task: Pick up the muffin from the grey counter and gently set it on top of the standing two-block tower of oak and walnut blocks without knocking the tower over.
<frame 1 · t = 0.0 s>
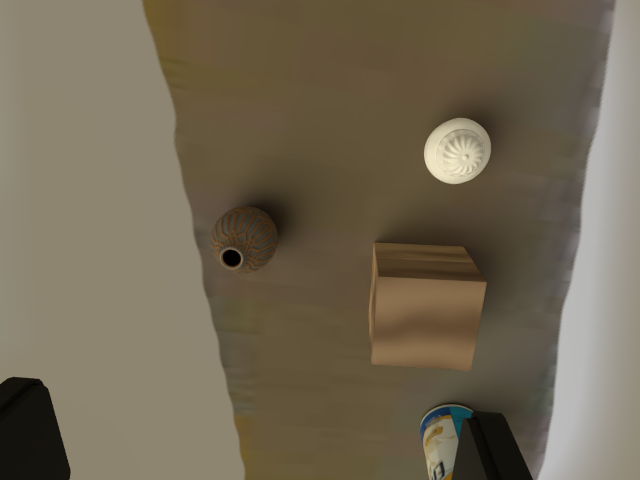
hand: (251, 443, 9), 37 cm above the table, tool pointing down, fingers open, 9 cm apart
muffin: (448, 146, 42), on the table
tower top: (419, 302, 44), point 4 cm above the table, touching tower base
vase: (253, 227, 47), on the table
tower base: (413, 282, 48), on the table, touching tower top
beverage bottle: (449, 424, 55), on the table
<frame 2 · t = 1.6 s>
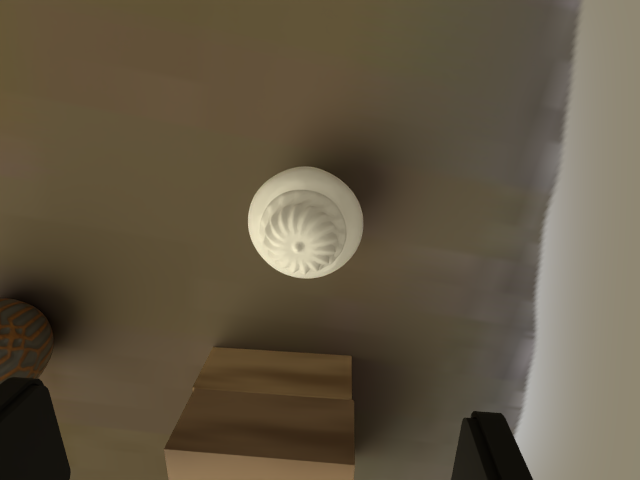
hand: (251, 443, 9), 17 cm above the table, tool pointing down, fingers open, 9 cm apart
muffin: (311, 204, 25), on the table
tower top: (274, 453, 27), point 4 cm above the table, touching tower base
vase: (27, 323, 30), on the table
tower base: (283, 402, 31), on the table, touching tower top
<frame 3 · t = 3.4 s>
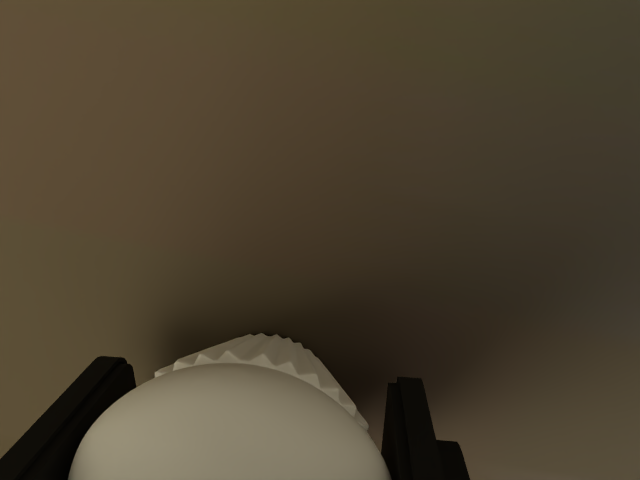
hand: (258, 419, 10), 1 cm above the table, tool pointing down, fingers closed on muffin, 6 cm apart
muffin: (271, 378, 11), on the table, touching gripper
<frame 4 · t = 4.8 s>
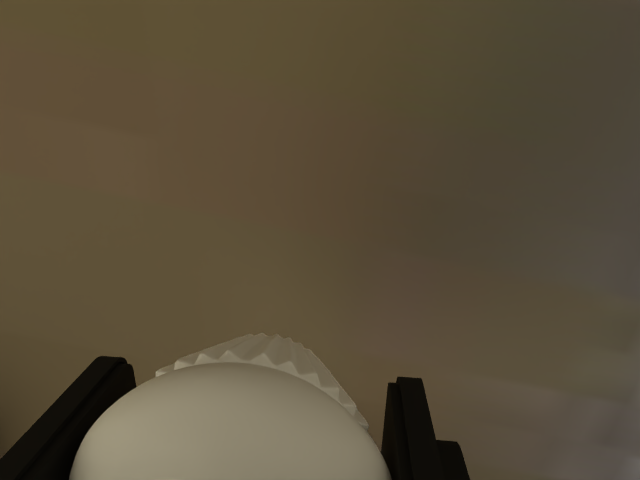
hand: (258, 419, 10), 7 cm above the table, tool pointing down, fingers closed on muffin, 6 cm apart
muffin: (271, 378, 11), point 6 cm above the table, touching gripper
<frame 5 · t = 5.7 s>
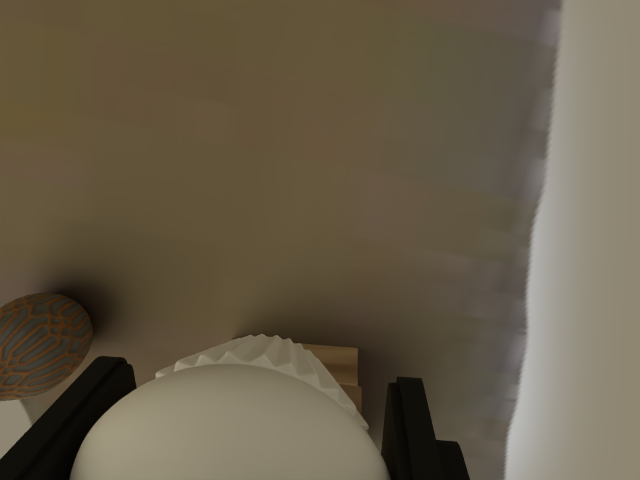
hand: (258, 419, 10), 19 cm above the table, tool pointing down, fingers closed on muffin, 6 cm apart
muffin: (271, 378, 11), point 18 cm above the table, touching gripper
tower top: (286, 433, 30), point 4 cm above the table, touching tower base
vase: (68, 317, 33), on the table
tower base: (294, 391, 34), on the table, touching tower top
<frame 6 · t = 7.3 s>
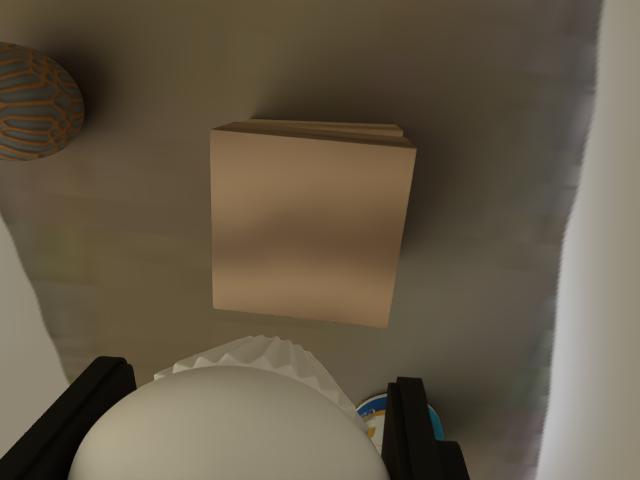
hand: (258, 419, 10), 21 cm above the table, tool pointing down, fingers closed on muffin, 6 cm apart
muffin: (270, 380, 11), point 20 cm above the table, touching gripper
tower top: (313, 211, 25), point 4 cm above the table
vase: (56, 101, 29), on the table
tower base: (320, 192, 30), on the table
beverage bottle: (394, 423, 37), on the table
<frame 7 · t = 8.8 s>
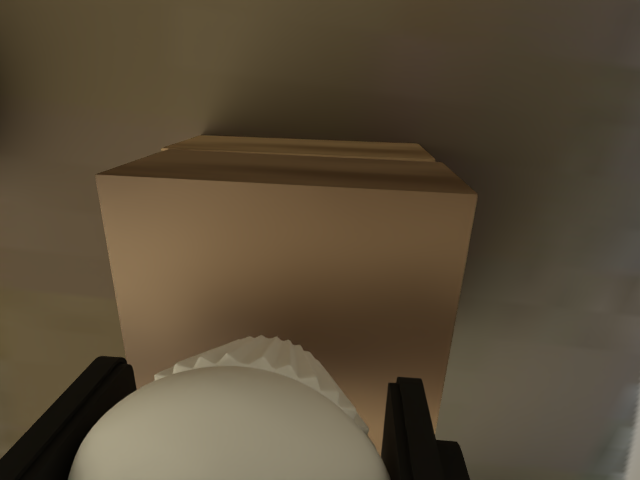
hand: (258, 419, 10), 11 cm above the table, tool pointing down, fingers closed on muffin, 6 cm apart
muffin: (270, 380, 11), point 10 cm above the table, touching gripper
tower top: (299, 279, 16), point 4 cm above the table, touching tower base
tower base: (306, 238, 21), on the table, touching tower top
when the fingers open (10 cm above the table, at t = 9.5 s): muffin stays where it is, resting on tower top.
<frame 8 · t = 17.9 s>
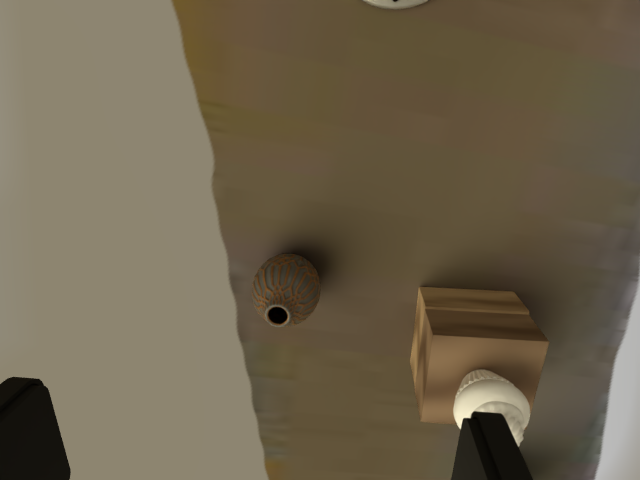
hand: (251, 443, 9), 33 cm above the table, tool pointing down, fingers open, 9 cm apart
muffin: (479, 381, 38), point 8 cm above the table, touching tower top
tower top: (468, 354, 42), point 4 cm above the table, touching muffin, tower base
vase: (291, 273, 45), on the table
tower base: (458, 327, 46), on the table, touching tower top
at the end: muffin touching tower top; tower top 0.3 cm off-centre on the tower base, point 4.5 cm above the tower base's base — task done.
